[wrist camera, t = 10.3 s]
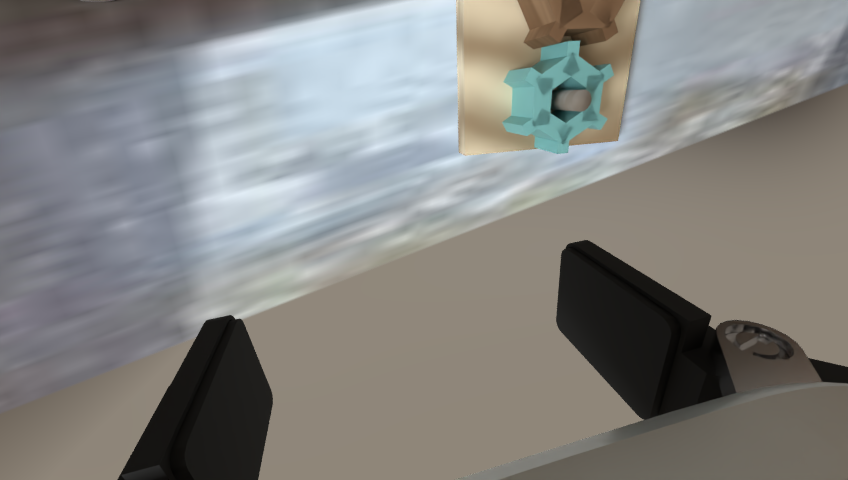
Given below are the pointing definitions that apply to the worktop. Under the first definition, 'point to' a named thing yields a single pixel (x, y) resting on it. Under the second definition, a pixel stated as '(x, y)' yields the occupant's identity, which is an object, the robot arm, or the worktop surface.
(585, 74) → the teal gear
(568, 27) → the walnut gear
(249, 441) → the robot arm
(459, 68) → the gear board
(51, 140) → the worktop surface
